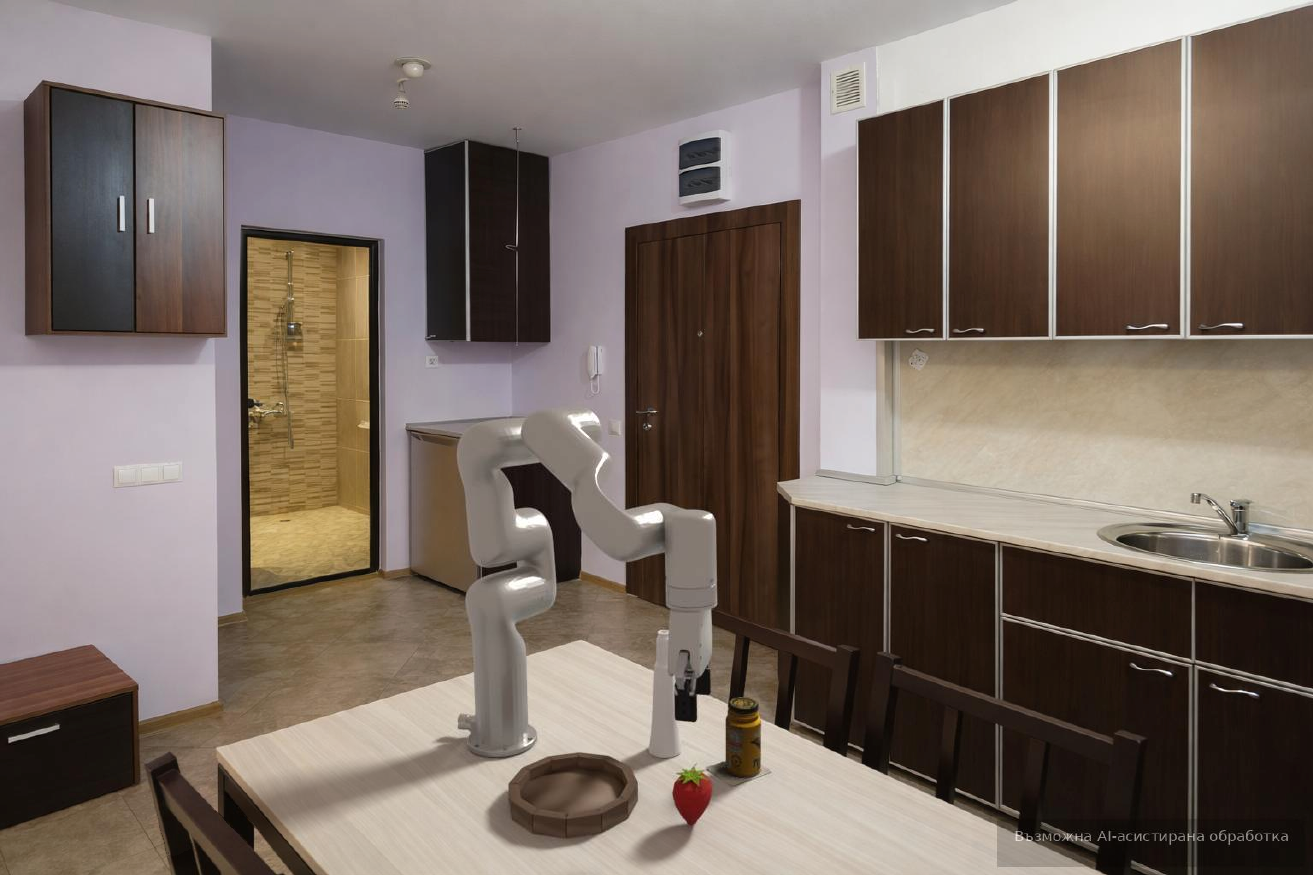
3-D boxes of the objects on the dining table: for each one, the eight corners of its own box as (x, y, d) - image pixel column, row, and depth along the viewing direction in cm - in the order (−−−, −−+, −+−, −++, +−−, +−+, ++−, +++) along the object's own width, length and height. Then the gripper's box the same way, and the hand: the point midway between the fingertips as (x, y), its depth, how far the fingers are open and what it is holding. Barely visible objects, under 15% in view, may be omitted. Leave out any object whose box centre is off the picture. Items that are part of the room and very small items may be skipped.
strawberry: (718, 815, 129) (718, 753, 128) (704, 842, 122) (703, 776, 121) (681, 808, 131) (681, 747, 130) (666, 834, 124) (665, 770, 123)
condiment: (771, 772, 142) (771, 704, 140) (732, 787, 137) (732, 717, 136) (744, 755, 148) (744, 690, 146) (705, 769, 143) (705, 701, 142)
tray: (488, 826, 126) (487, 807, 126) (540, 763, 145) (539, 747, 145) (613, 845, 121) (613, 825, 121) (650, 777, 140) (650, 760, 140)
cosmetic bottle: (655, 740, 154) (653, 624, 151) (686, 745, 152) (685, 627, 149) (643, 755, 148) (642, 635, 146) (675, 760, 146) (674, 638, 144)
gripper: (680, 578, 132) (682, 682, 133) (651, 610, 115) (653, 729, 117) (727, 580, 130) (728, 686, 131) (704, 613, 113) (706, 734, 115)
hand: (693, 706), depth 124 cm, fingers open, 9 cm apart
